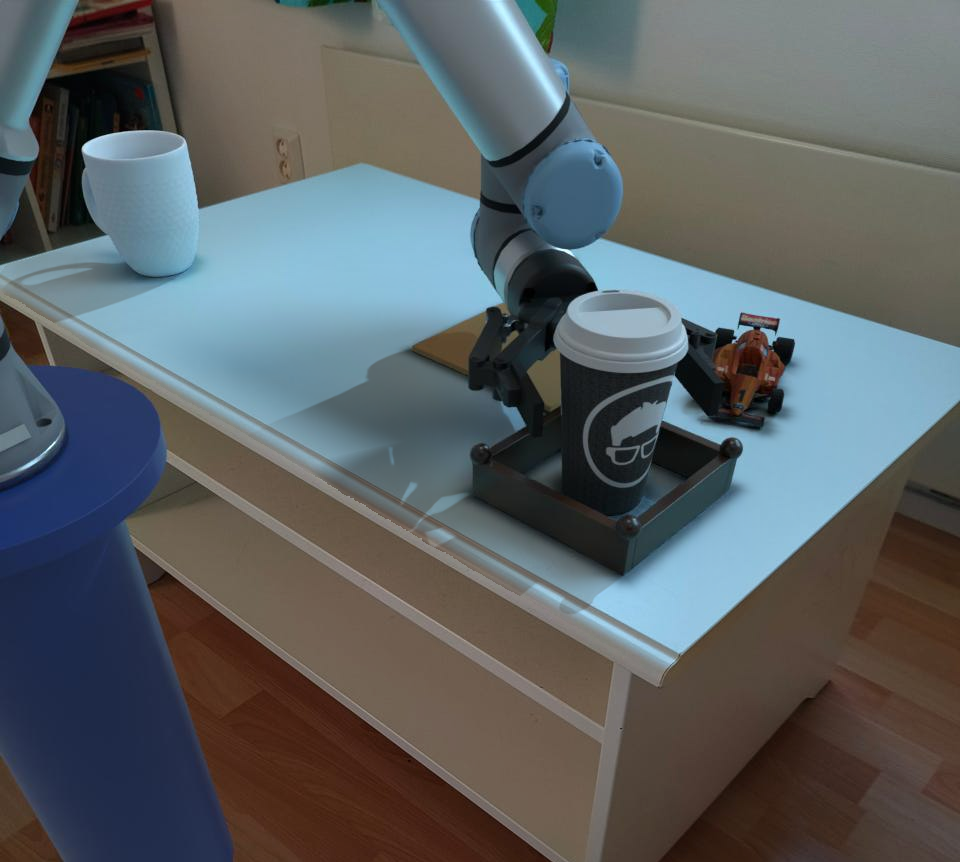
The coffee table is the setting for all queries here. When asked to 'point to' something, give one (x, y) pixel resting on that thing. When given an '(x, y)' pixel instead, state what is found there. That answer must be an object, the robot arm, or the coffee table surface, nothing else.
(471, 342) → the cork mat
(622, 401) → the coffee cup
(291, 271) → the coffee table surface
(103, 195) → the mug
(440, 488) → the coffee table surface
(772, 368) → the toy car
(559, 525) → the dark square frame
